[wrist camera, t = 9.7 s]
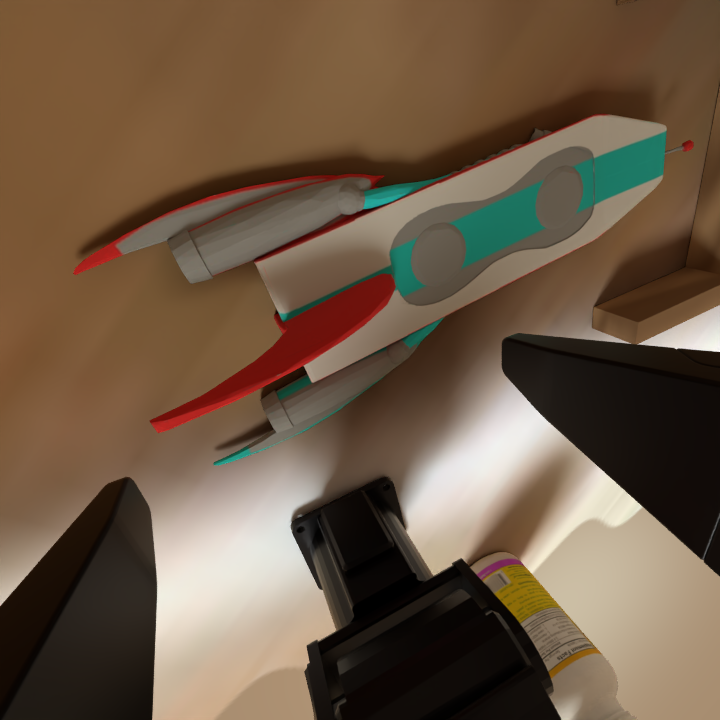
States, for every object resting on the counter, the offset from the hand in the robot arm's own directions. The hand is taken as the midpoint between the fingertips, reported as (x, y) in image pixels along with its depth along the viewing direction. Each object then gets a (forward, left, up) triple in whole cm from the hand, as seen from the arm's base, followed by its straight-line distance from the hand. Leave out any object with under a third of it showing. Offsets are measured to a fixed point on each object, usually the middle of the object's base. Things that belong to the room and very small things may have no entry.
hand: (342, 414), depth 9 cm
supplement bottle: (-29, -9, -10) cm, 32 cm away
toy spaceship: (0, -8, -11) cm, 13 cm away
